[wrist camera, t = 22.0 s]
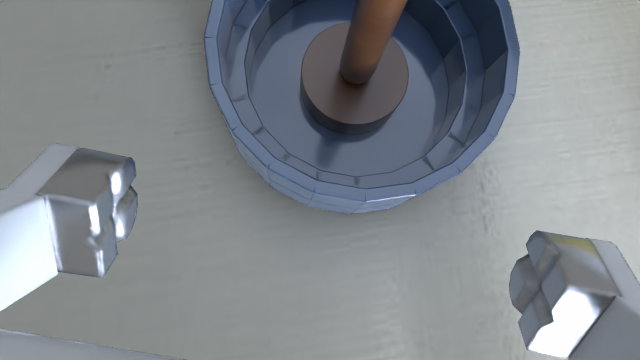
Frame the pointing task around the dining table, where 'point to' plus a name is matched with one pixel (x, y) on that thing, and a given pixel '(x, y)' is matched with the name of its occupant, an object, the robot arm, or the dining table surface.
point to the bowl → (392, 136)
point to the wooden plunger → (356, 70)
